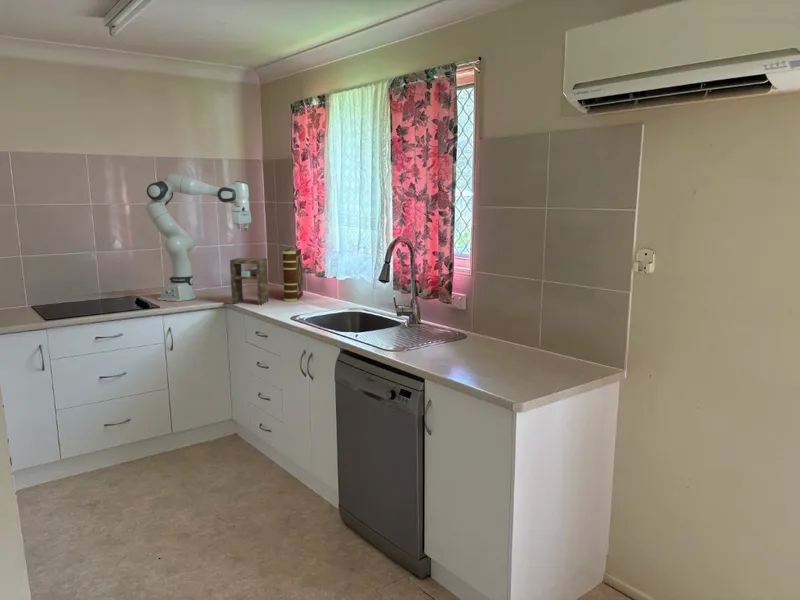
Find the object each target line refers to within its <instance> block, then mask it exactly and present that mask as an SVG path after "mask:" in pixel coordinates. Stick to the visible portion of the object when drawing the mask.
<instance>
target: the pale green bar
mask: <svg viewBox="0 0 800 600" xmlns="http://www.w3.org/2000/svg"><path fill="white" fill-rule="evenodd" d="M255 274H257V267H252V268H248V269H244V270H242V272H241V276H242V277H249V276H252V275H255Z"/></svg>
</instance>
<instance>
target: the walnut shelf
mask: <svg viewBox="0 0 800 600" xmlns="http://www.w3.org/2000/svg"><path fill="white" fill-rule="evenodd" d="M242 264H243V265H252V264H253V265H256V268H257V274H255V275H252V276H249V277H242V276H241V272H242V271H243V270H242ZM229 265H230V284H231V285H230V286H231V287H230V288H231V289H230V290H231V304H232V305H237V304H239V302H240V303H242V302H244V295H243V294H244V293H243V292H244V291H243V280H256V282H257V283H256V284H257V303H258V304H260V305H259V306H263V305H264V303H265V304H267V303H269V285H268V282H269V281H268V279H269V278H268V259H267V258H264V257H263V258H261V257H259V258H255V257H251V258H250V257H249V258H248V257H236V258H233V259H229ZM241 301H242V302H241ZM266 302H267V303H266ZM262 304H263V305H262Z"/></svg>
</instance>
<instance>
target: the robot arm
mask: <svg viewBox="0 0 800 600" xmlns="http://www.w3.org/2000/svg"><path fill="white" fill-rule="evenodd" d="M174 193H179V194H182V195H188V196H189V195H191V196H197V195H199V196H200V195H205V196H206V195H207V196H211V197H216V198H218V200H219V201H221V202H222V203H225V204H233V206H232V207H231V208H230V209H231V212H232V214H231V217H232V223H233V225H236V228H237V232H239V233H241V232H242V225H244V228H243V231H244V232H247V231H249V224H252V214H251V213H252V212H251V209H250V201H249V197H250V191H249V185H248V183H246V182H244V181H239V180H235V181H233V182H232V183H231V184H229V185H226V186H223V187H221V186H217V185H212V184H210V183H209V184H208V183H206V182H203V181H201V180H199V179H197V178H195V177H193V176H189V175H185V174H180V173H168V174H167V175H166V176H165V178H164V180H158V181H156V182H152V183H150V184H149V185H148V186H147V188H146V194H147V196H148V197H149V199H150V201H148V202H147V204H146V205H145V210H146V213H147V215H148V218H149V219H150V220H151V222H152V223H153V225H154V227H156V229H157V230H158V231H159V233H160V234H161V235H163V236H164V237H166V240H165V242H164V249H165V251H166V252H167V254H168V257H169V259H170V263H171V271H172V272H171V273H172V276H171V277H169V278H168V281H170V282H169V283H168V284H167V285H166V286H164V287H163V288H162V289H161V291H160V296H159V297H157V301H164V300H166V301H167V302H180V301H190V300H195V299H196V298H197V296H196V294H195V290H194V289H195V288H194V278H193V272H192V271H193V270H192V269H193V268H192V262H191V260H190V259H189V257H188V253H189V252H191V251H193V249H194V248H195V247H196V240H195V239H194V237H193V236H192V235H189V234H188V233H187V232H186V231H185V229H183V228H182V227H181V226H180V225H179V224H178V223H177V222H176V220H175V219H174V218H173V216H172V214H171V212H169V210H168V209H167V208H166V206H167V205H168V204H169V202H171V200H172V199H173V198H174V197H173V196H174Z"/></svg>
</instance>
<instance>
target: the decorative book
mask: <svg viewBox="0 0 800 600" xmlns="http://www.w3.org/2000/svg"><path fill="white" fill-rule="evenodd" d="M301 250H302V248H299V249H297V250H291V248H288V249H286V250H283V251H282V252H281V253H282V263H283V265H282V266H283V267H282V270H283V293H284V294H283V295H284V297H283V301H284V302H297V301H298V300H299V299H300V298H302V297H303V295H304V294H303V293H304V286H303V254H302V255H301ZM301 296H302V297H301Z"/></svg>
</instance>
